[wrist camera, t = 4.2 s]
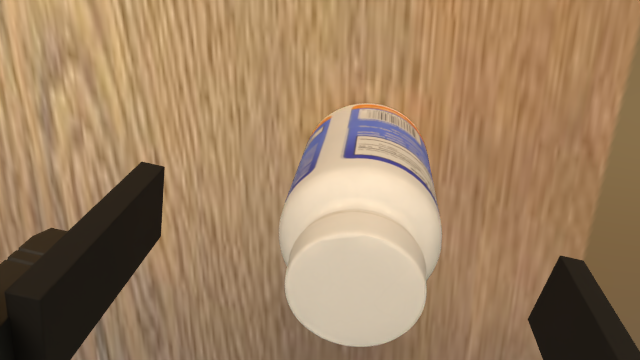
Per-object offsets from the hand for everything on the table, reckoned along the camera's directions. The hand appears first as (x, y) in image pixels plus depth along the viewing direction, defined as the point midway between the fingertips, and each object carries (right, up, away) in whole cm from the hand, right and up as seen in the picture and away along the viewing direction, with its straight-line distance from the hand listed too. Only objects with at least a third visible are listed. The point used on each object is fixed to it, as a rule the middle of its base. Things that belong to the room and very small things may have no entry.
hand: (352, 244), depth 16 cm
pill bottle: (+1, +3, +6) cm, 7 cm away
